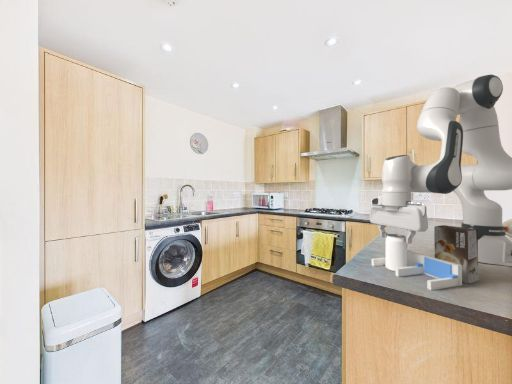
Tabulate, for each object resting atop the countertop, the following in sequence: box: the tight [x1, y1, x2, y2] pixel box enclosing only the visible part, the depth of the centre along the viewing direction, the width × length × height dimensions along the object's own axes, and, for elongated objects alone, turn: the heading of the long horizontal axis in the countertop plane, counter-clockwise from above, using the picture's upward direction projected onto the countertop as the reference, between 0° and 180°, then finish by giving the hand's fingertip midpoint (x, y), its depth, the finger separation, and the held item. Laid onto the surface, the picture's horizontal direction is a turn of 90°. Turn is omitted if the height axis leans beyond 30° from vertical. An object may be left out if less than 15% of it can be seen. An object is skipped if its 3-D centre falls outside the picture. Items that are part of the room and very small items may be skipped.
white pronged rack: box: [371, 249, 463, 291], centre depth 71 cm, size 12×21×6 cm, turn 15°
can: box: [384, 233, 408, 273], centre depth 76 cm, size 6×6×12 cm
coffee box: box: [433, 224, 479, 284], centre depth 69 cm, size 9×6×16 cm
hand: (395, 240), depth 75 cm, fingers open, 8 cm apart
